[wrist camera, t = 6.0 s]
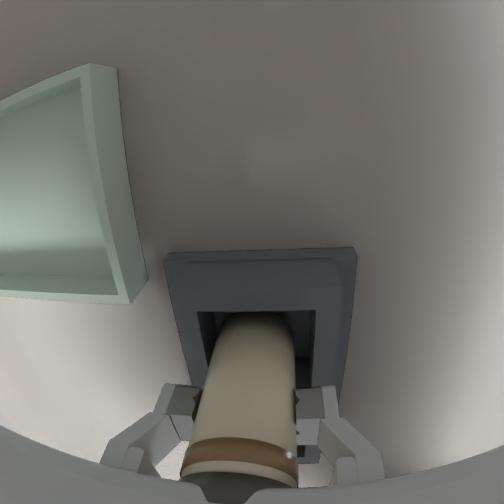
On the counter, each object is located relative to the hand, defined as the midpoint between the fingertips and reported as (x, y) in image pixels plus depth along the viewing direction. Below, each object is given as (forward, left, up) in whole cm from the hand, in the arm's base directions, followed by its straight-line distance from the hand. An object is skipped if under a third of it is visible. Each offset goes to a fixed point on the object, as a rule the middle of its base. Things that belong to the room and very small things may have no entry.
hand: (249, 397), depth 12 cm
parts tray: (+13, -8, -6) cm, 16 cm away
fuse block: (0, +3, -6) cm, 7 cm away
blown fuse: (0, 0, -4) cm, 4 cm away
